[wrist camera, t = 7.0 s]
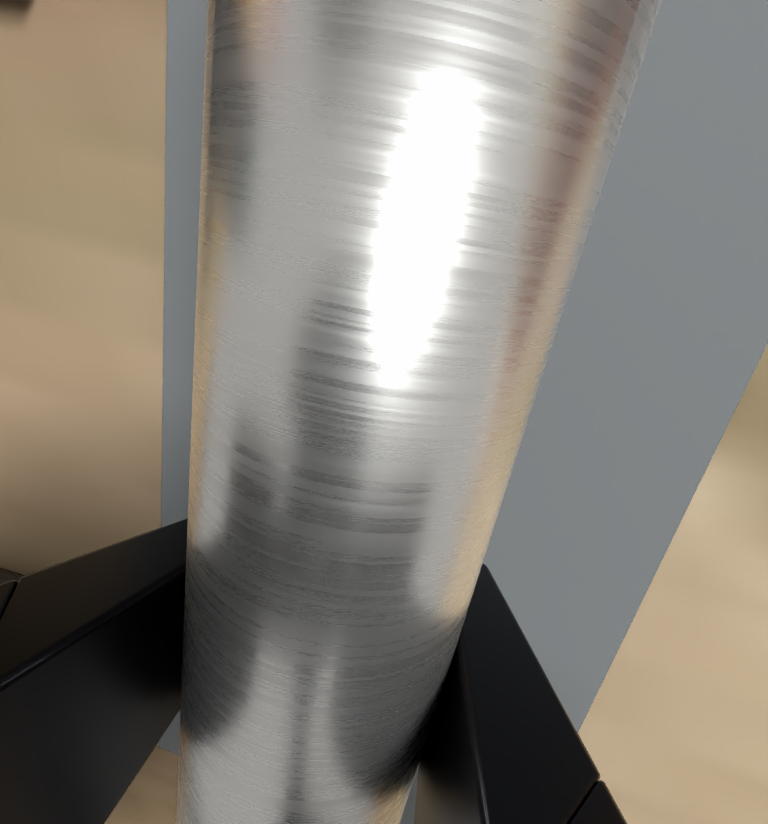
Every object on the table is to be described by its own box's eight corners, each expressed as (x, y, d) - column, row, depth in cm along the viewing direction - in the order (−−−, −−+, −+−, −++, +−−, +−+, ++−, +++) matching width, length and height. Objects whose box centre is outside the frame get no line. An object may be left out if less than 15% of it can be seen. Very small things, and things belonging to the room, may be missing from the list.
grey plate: (507, 854, 15) (506, 878, 15) (170, 730, 17) (158, 747, 16) (1078, -356, 6) (1137, -415, 5) (197, -386, 7) (172, -433, 7)
